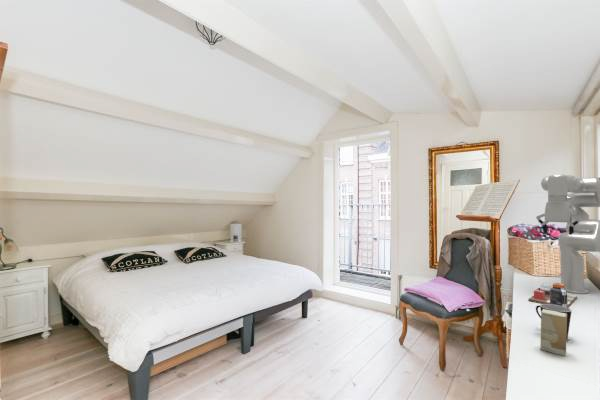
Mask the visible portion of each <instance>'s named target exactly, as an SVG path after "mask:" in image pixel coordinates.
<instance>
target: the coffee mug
mask: <svg viewBox="0 0 600 400" xmlns="http://www.w3.org/2000/svg"><path fill="white" fill-rule="evenodd" d="M539 308H540V312H541V311H542V310H543V309H545V310H551V311H556V312H560V313H566V314H567V339H566V341H567V340H568V338H569V331H570V323H571V317H572V309H571V308H570V307H569V308H567V307H563V306H559V305H553V304H541V303H540V305H536V306H535V312H536V314H537V315H538V317H539V319H541V313H540V312H539V310H538V309H539Z"/></svg>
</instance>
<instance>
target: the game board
mask: <svg viewBox="0 0 600 400" xmlns="http://www.w3.org/2000/svg"><path fill="white" fill-rule="evenodd" d="M535 290H540V286H539V287H538V288H537V289H535ZM541 291H544V290H541ZM577 299H578V295H572V294H568V293H567V308H569V309H570V307H571V306H572V305H573V303H574V302H575V301H576V300H577ZM528 302H531V303H536V304H540V305H541V304H550V291H545V299H544V300H540V299H534V295H532V296H531V297H529V298H528Z"/></svg>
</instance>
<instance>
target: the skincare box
mask: <svg viewBox="0 0 600 400" xmlns="http://www.w3.org/2000/svg"><path fill="white" fill-rule="evenodd" d="M540 316H541V318H540V348H539V349H540V350H541V351H545V352H549V353H552V354H556V355H559V356H564V357H565V356H566V354H567V340H568V339H567V314H566V313H560V312H556V311H551V310H545V309H543V310H542V311H541V310H540ZM566 339H567V340H566Z"/></svg>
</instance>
